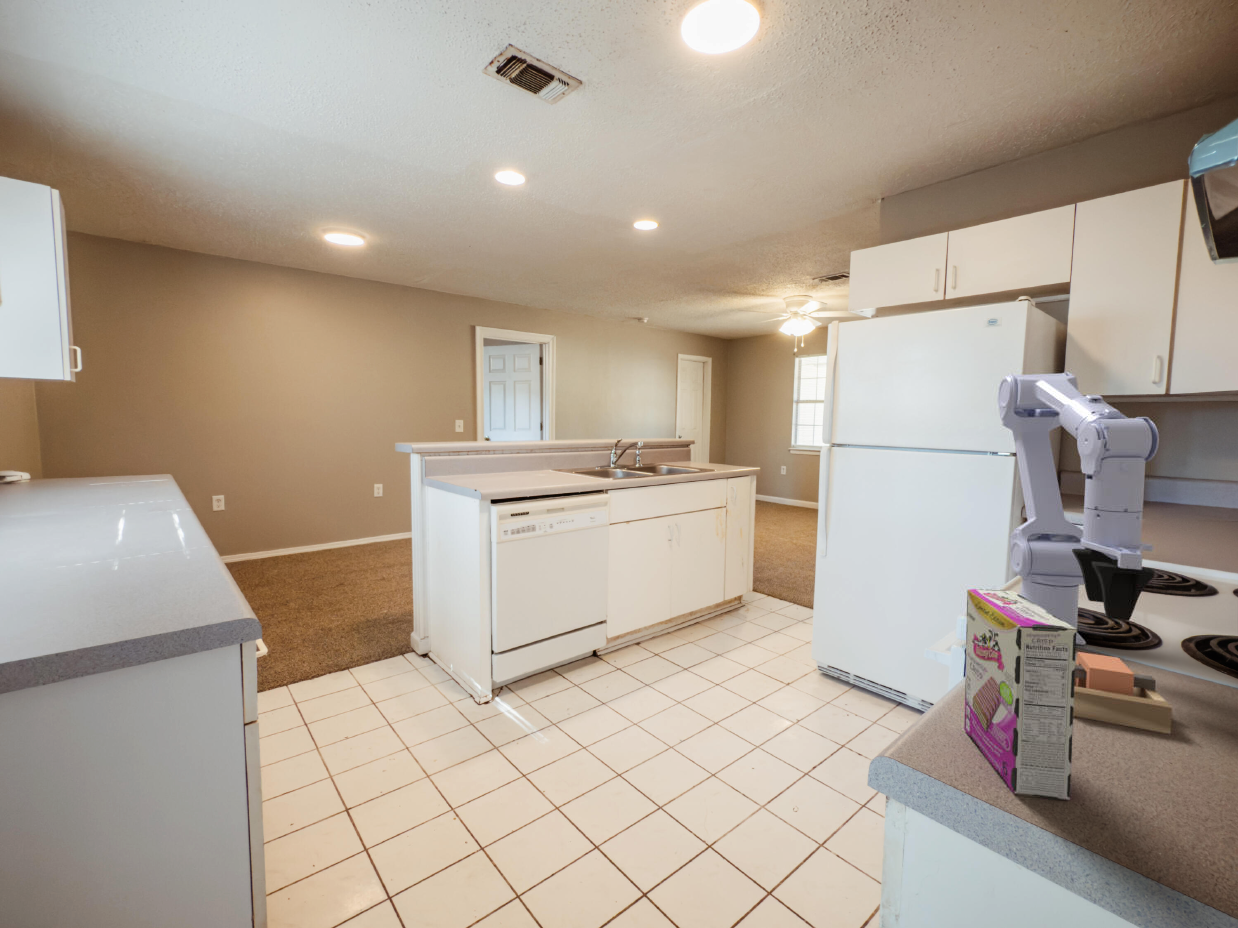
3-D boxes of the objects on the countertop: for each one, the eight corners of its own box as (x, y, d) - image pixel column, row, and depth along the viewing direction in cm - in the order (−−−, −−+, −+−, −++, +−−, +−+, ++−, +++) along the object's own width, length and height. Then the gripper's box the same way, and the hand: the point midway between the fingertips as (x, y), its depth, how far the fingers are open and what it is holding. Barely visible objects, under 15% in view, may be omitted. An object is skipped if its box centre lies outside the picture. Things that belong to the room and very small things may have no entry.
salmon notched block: (1075, 685, 69) (1077, 651, 68) (1116, 692, 67) (1118, 657, 67) (1088, 703, 64) (1089, 667, 64) (1132, 711, 63) (1134, 674, 62)
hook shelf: (1046, 679, 72) (1047, 648, 72) (1135, 693, 68) (1137, 661, 68) (1066, 714, 63) (1068, 680, 63) (1170, 733, 59) (1172, 697, 59)
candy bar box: (960, 729, 60) (964, 587, 59) (1009, 734, 59) (1015, 589, 58) (1011, 796, 49) (1017, 623, 48) (1073, 803, 48) (1081, 627, 47)
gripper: (1179, 519, 63) (1172, 632, 64) (1131, 503, 75) (1126, 598, 76) (1100, 515, 66) (1095, 623, 67) (1068, 501, 79) (1064, 591, 80)
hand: (1107, 609), depth 72 cm, fingers open, 7 cm apart
